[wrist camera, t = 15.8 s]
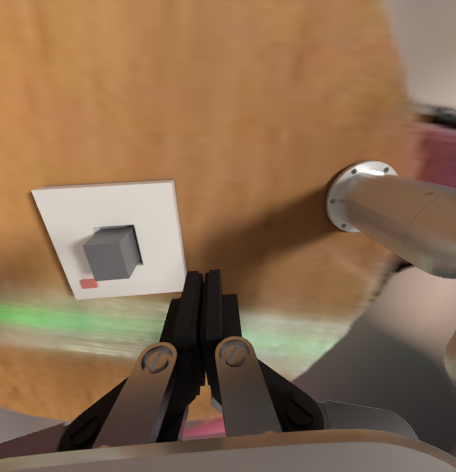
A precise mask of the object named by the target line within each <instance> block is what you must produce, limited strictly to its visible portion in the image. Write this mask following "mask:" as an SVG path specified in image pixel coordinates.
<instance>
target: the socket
mask: <svg viewBox="0 0 456 472" xmlns="http://www.w3.org/2000/svg"><path fill="white" fill-rule="evenodd" d="M31 192H32V194H33V196H34V199H35V201H36V204H37V206H38V209H39V211H40V213H41V216H42V218H43V221H44V223H45V226H46V228H47V230H48V233H49V235H50V238H51V240H52V243H53V245H54V247H55V250H56V252H57V255H58V257H59V260H60V262H61V264H62V267H63V269H64V272H65V274H66V276H67V279H68V281H69V284H70V286H71V289H72V291H73V293H74V296H75V298H76V300H82V299H94V298H106V297H118V296H131V295H143V294H155V293H168V292H180V291H183V287H184V283H185V278H186V274H187V268H186V260H185V253H184V246H183V239H182V232H181V225H180V218H179V211H178V203H177V196H176V189H175V182H174V179H163V180H145V181H127V182H109V183H91V184H73V185H55V186H44V187H40V188H37V189H34V190H31ZM123 227H133V230H134V232H135V238H136V242H137V246H138V250H139V254H140V258H141V259H140V260H139V262H138V264H137V266H136V267H135V269H134V271H133V273H132V275H131V276H130V278H129V279H118V280H106V281H95V279H94V276H93V274H92V271H91V268H90V265H89V263H88V260H87V257H86V254H85V252H84V249H83V245H84V244H85V243H86V242H87V241H88V240H90V239H91V238H92V237H93V236H94V235H95V234H96V233H98V232H99V231H100V230H101V229H110V228H123Z"/></svg>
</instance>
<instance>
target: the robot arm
mask: <svg viewBox="0 0 456 472" xmlns="http://www.w3.org/2000/svg"><path fill="white" fill-rule="evenodd" d="M351 171H352V172H351ZM326 211H327V215H328V217H329V219H330V221H331V222H332V223H333V224H334V225H335V226H337V227H338V228H339V229H341V230H344V231H347V232H363V233H364V234H366V235H367V236H369V237H370V238H372V239H373V240H375V241H377V242H378V243H380V244H381V245H383V246H384V247H386V248H388V249H389V250H391V251H392V252H394V253H395V254H397V255H399V256H400V257H402V258H403V259H405V260H406V261H408V262H410V263H411V264H413V265H415V266H416V267H418V268H419V269H421V270H423V271H425V272H427V273H429V274H431V275H434V276H438V277H442V278H449V279H456V188H452V187H447V186H442V185H438V184H433V183H428V182H424V181H419V180H415V179H410V178H405V177H401V176H398V175H397V174H396V172H395V170H394V169H393V168H392V167H391V166H389V165H388V164H386V163H383V162H380V161H373V160H369V161H362V162H358V163H356V164H354V165H351V166H350V167H348V168H347V169H345V170H344V171H343V172H342V173H341V174H339V175H338V177H337V178H336V179H335V180H334V182H333V183H332V185H331V187H330V189H329V191H328V194H327V198H326ZM444 364H445V368H446V370H447V372H448V374H449V376H450V377H451V379H452V381H453V382H454V384H455V385H456V330H455V332H454V334H453V336H452V337H451V339H450V340H449V342H448V344H447V346H446V348H445V352H444ZM205 373H206V374H207V380H208V385H210V387H211V393H212V397H213V398H214V399H215V400H216V401H217V402H218V403H219V404H220V405H221V406H222V412H223V419H224V425H225V432H226V437H222V438H210V439H200V440H188V441H182V438H183V434H184V429H185V425H186V421H187V417H188V413H189V404H190V403H191V402H192V401H193V400H194V399H195V398H196V395H200V386H204V385H205ZM0 472H456V458H455V457H453V456H451V455H450V454H448V453H446V452H444V451H442V450H440V449H438V448H436V447H434V446H431V445H429V444H426V443H424V442H421V441H419V440H418V438H417V436H416V434H415V433H414V431H413V430H412V428H411V427H410V426H409V425H408V424H407V423H406V422H405V421H404V420H403V419H402V418H401V417H399V416H397V415H396V414H394V413H392V412H389V411H386V410H382V409H376V408H370V407H364V406H359V405H352V404H347V403H341V402H335V401H328V400H325V402H324V403H321V402H316V401H314V400H313V399H312V398H311V397H310V396H309V395H307V394H306V393H304V392H303V391H302V390H300V389H299V388H297V387H296V386H295V385H293V384H292V383H291V382H289V381H288V380H286V379H285V378H284V377H282V376H281V375H279V374H278V373H277V372H275V371H274V370H272V369H271V368H270V367H268V366H267V365H265V364H264V363H263V362H261V361H260V360H258V359H257V357H256V354H255V351H254V348H253V346H252V344H251V343H250V342H249V341H248V340H246V339H244V338H242V334H241V326H240V317H239V309H238V300H237V294H227V295H222V284H221V274H220V269H216V270H209V273H205V282H204V281H203V274H202V273H201V274H199V272H198V271H191V272H187V274H186V278H185V283H184V287H183V291H182V296H181V298H178V299H172V300H171V303H170V306H169V310H168V313H167V317H166V320H165V324H164V327H163V331H162V334H161V338H160V341H159V343H156V344H153V345H151V346H149V347H148V348H146V349H145V350H144V351H143V352H142V353H141V355H140V356H139V358H138V359H137V361H136V363H135V365H134V367H133V369H132V371H131V373H130V375H129V377H128V378H126V379H125V380H124V381H123V382H121V383H120V384H119V385H117V386H116V387H115V388H114V389H112V390H111V391H110V392H109V393H107V394H106V395H105V396H103V397H102V398H101V399H100V400H98V401H97V402H96V403H94V404H93V405H92V406H91V407H89V408H88V409H87V410H86V411H84V412H83V413H82V414H80V415H79V416H78V417H77V418H76V419H75V420H74V421H73V422H72V423H71V424H69V425H66V423H65V422H64V423H61V424H58V425H55V426H52V427H49V428H46V429H43V430H39V431H37V432H33V433H30V434H27V435H25V436H21V437H18V438H15V439H12V440H9V441H6V442H3V443H0Z"/></svg>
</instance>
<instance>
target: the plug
mask: <svg viewBox="0 0 456 472" xmlns="http://www.w3.org/2000/svg"><path fill="white" fill-rule="evenodd" d="M83 249H84V252H85V254H86V257H87V260H88V263H89V265H90V268H91V271H92V274H93V276H94V279H95V281H106V280H118V279H129V278H130V276H131V275H132V273H133V271H134V269H135V267H136V266H137V264H138V262H139V260H140V259H141V258H140V254H139V250H138V246H137V242H136V238H135V232H134V230H133V227H123V228H110V229H101V230H100V231H99V232H98V233H96V234H95V235H94V236H93V237H92V238H91V239H90V240H88V241H87V242H86V243H85V244H84V245H83Z"/></svg>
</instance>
